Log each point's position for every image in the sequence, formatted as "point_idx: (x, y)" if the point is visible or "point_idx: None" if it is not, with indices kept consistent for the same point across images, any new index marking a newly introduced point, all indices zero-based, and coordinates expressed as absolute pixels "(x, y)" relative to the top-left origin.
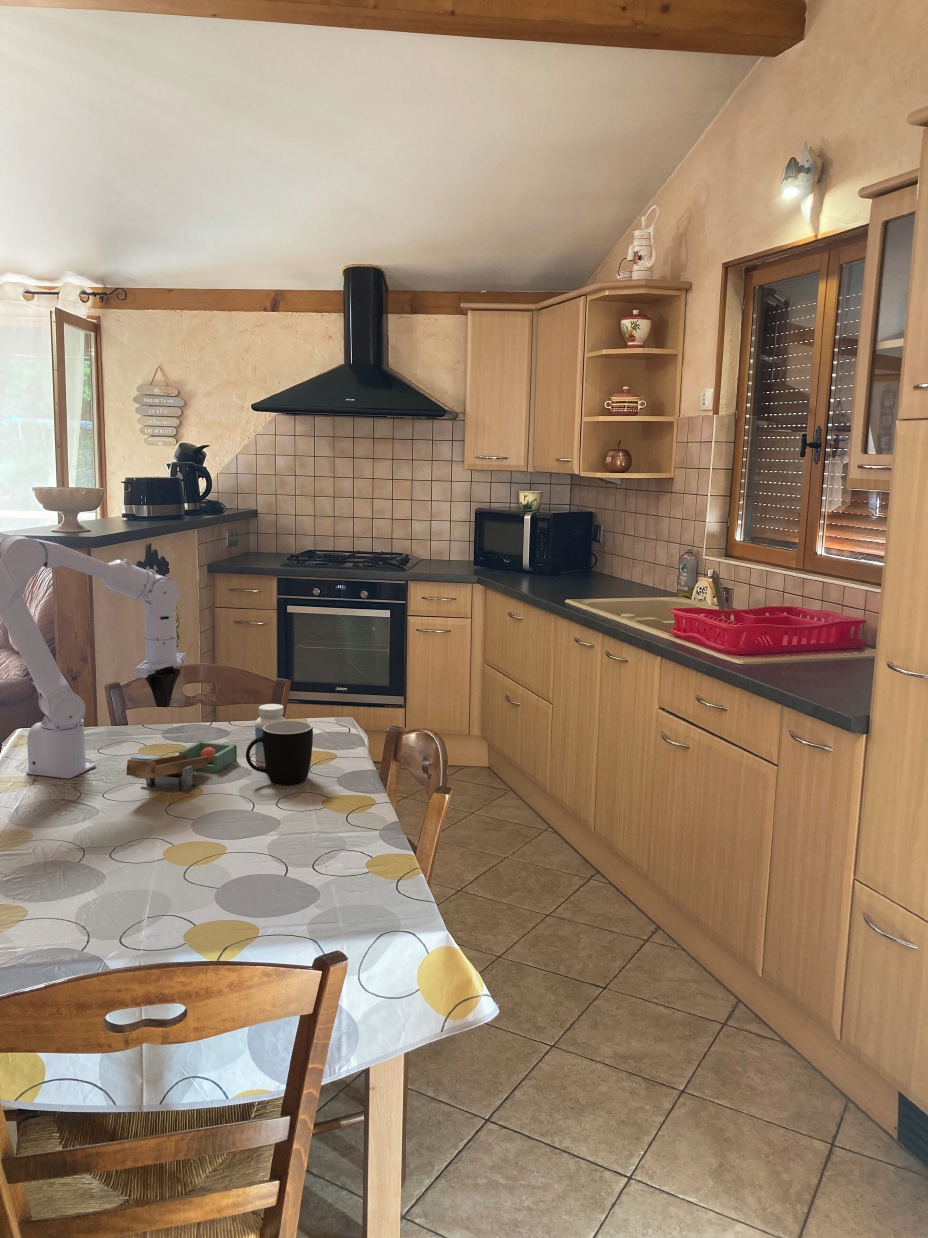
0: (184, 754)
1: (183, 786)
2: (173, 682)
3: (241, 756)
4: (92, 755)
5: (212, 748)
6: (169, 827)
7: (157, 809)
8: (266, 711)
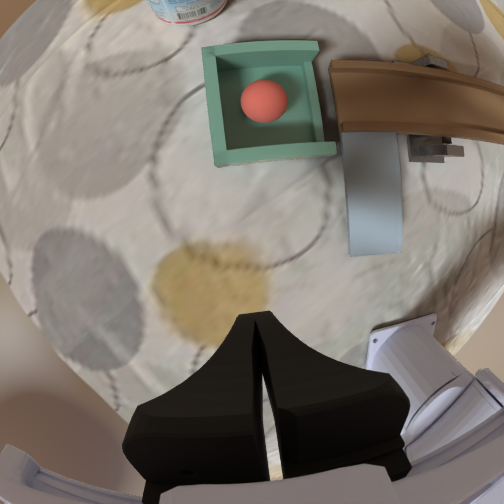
0: (350, 124)
1: None
2: (224, 376)
3: (167, 80)
4: None
5: (258, 86)
6: (493, 56)
7: None
8: None
